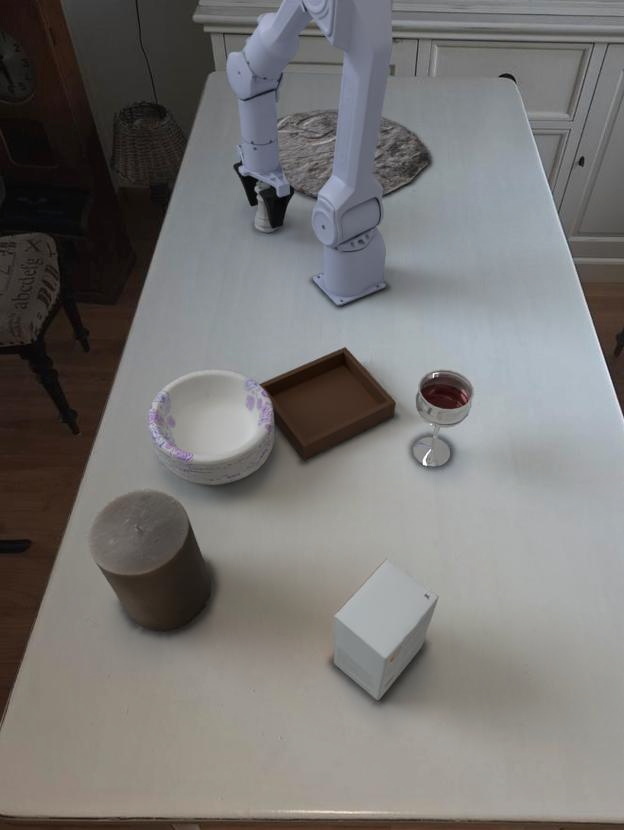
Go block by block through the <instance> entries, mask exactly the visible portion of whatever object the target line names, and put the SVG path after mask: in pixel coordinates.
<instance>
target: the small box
mask: <svg viewBox="0 0 624 830" xmlns="http://www.w3.org/2000/svg"><path fill="white" fill-rule="evenodd" d="M439 597H440V595H439V594H437V593H436V592H434V591H432V590H431V589H430V588H428V587H427V586H426V585H424V584H423V583H422V582H421V581H419V580H418V579H416V578H415V577H414V576H412V575H411V574H410V573H408V572H407V571H405V570H404V569H402V568H401V567H400V566H399V565H397V564H396V563H394V562H393V561H392V560H390V559H389V558H385V559H384V560H383V561H382V562H381V563H380V565H379V566H378V567H377V568H376V569H375V570H374V571H373V572H372V573H371V575H370V576H369V577H368V578H367V579H366V580H365V581H364V582H363V583H362V584H361V585H360V587H359V588H357V590H356V591H355V592H354V593H353V594H352V595H351V597H350V598H348V600H346V602H345V603H344V604H343V605H342V606H341V607H340V609H338V610H337V612H336V613H335V614H333V616H334V617H333V664H334V665H335V666H336V667H338V669H340V670H341V671H342V672H343V673H344V674H345V675H347V676H348V677H349V678H351V680H353V681H354V682H355V683H356V684H357V685H358V686H360V687H361V688H362V689H363V690H364V691H366V693H368V694H369V695H370V696H372V698H374V699H375V700H376V701H380V700H381V698H382V697H383V696H384V695H385V694H386V692H387V691H388V690H389V688H390V687H391V686H392V685H393V684H394V682H395V681H396V680H397V679H398V678H399V676H400V675H401V674H402V672H404V670H405V669H406V668H407V666H408V665H409V664H410V663H411V661H412V660H413V659H414V657H415V656H416V655H417V653H419V651H420V650H421V648H422V647H423V644H424V642H425V638H426V635H427V632H428V629H429V626H430V623H431V621H432V618H433V615H434V612H435V609H436V607H437V603H438V600H439Z"/></svg>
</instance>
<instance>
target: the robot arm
mask: <svg viewBox="0 0 624 830" xmlns="http://www.w3.org/2000/svg"><path fill="white" fill-rule="evenodd" d="M394 2H395V1H394V0H282V1H281V4H280V5H279V8H278V10H277V11H276V12H266V13H262V14H260V15H259V16H258V18H257V19H256V23H257V24H258V25H257V26H256V28H255V29H254V31H253V32H252V34H251V36H249V37H247V38H246V40H245V43H246V44H245V46H244V47H243V49H242V50H240V51H232V52H230V53H229V54H228V57H227V59H226V65H225V67H226V76H227V79H228V82H229V85H230V87H231V90H232V92H234V94H235V96H236V97H237V104H238V115H239V123H240V124H239V125H240V133H241V143H239V144H236V155H237V158H238V159H239V162H236V163H234V164H233V165H232V167H233V170H234V171H235V173H236V174H237V176H238V179H239V180H240V182H241V184H242V186H243V189H244V193H245V195H246V198H247V201H248V204H249V206H250V207H251V208H253V207H257V206H258V199H257V195H258V194H257V192H256V191H255V187H256V182H258V181H259V180H261V182H265V183H267V184H269V185H270V188H268V189H264V190H261V191H259V194H260V195H261V197H262V199H263V201H264V203H265V206H266V209H267V213H268V219H269V223H270V226H271V227H272V228H273V229H274V228H277V227H278V228H280V227H283V226H284V222H285V219H286V213H287V209H288V206H289V203H290V201H291V199H292V198H293V196H294V195H295V189H294V188H293V187H292V186H291V185H290V183H289V182H288V181H287V179H286V177H285V174H284V171H283V168H282V165H281V162H280V160H279V144H278V127H277V120H278V113H277V112H278V111H277V104H278V102H279V100H280V89H281V87H282V85H283V82H284V72H283V71H284V70H285V69H286V67H288V65H289V64H290V62H291V61H292V60H293V59H294V57H295V56H296V54H297V53H298V51H299V48H300V36H299V35H301V33H302V32H303V30H305V28H306V27H307V26H308V25H309V24H310V22H312V21H314V22H315V23H316V25H317V27H318V28H319V29H320V32H322V34H323V35H324V36H325V38H326V39H327V41H328V43H329V44H330V46H331V47H333V48H336V49H339V50H341V51H342V53H343V64H342V73H341V83H340V93H339V102H338V103H339V104H338V110H339V112H338V122H337V132H336V142H335V152H334V162H333V172H332V176H331V177H330V178H329V180H328V181H327V182H326V184H325V185H324V186H323V187H322V189H321V190H320V191H319V193H318V198H316V199H317V201H316V203H315V205H314V207H313V209H312V211H311V225H312V229H313V233H314V234H315V236H316V238H317V239H318V240H319V241H320V243H321V244H323V273H320V274H318V275H315V276H313V278H312V280H313V282H314V283H315V284H316V285H317V286H318V287H319V289H320V290H322V291H323V292H324V293H325V294H326V296H328V298H329V299H330V300H331V301H332V302H333V303H334V304H335V305H336V306H338V307H341V306H343V305H346V304H348V303H350V302H354V301H356V300H357V299H360V298H361V299H362V298H364V297H365V296H368V295H370V294H373V293H375V292H378V291H380V290H382V289H385V288H386V287H387V284H386V283H385V282H384V275H385V265H386V254H387V249H386V243H385V239H384V236H383V234H382V233H381V231H380V230H379V229H378V228H377V227H378V226H380V225H381V224H382V222H383V220H384V213H385V212H384V203H383V195H382V194H383V187H382V186H381V184H380V183H379V181H378V180H377V179H376V178H375V177H373V176H372V171H373V165H374V159H375V153H376V147H377V140H378V134H379V128H380V122H381V117H382V114H383V109H384V102H385V97H386V89H387V82H388V76H389V71H390V65H391V59H392V54H393V53H392V52H393V24H392V14H393V13H392V12H393V7H394V6H393V5H394ZM278 228H277V229H278Z"/></svg>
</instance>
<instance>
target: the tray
mask: <svg viewBox="0 0 624 830" xmlns="http://www.w3.org/2000/svg"><path fill="white" fill-rule="evenodd" d="M258 384H259V385H260V386H261V387H262V388H263V389H264V390H265V391H266V393H267V394H268V396H269V398H270V400H271V402H272V406H273V413H274V424H276V426H277V427H278V429H280V431H281V432H282V433H283V435H284V436H285V438H286V439H287V440H288V441H289V443H290V444H291V446H292V447H293V448H294V450H295V451H296V453H298V455H299V456H300V457H301V459H302V460H303V461H307V460H308V459H310V458H312V457H315V456H316V455H319V454H321V453H323V452H325V451H326V450H329V449H332V448H333V447H335V446H337V445H339V444H341V443H343V442H345V441H348V440H349V439H351V438H354V437H356V436H357V435H359V434H361V433H364V432H365V431H367V430H370V429H372V428H373V427H376V426H378V425H380V424H382V423H384V422H386V421H388V420H390V419H392V418H394V417H395V412H396V411H395V410H396V405H397V402H396V400H395V399H394V398H393V397H392V396H391V394H389V393H388V392H387V391H386V390H385V388H384V387H383V386H382V385H381V384H380V383H379V382H378V381H377V380H376V379H375V378H374V376H372V374H371V373H370V372H369V371H368V370H367V369H366V368H365V367H364V366H363V364H362V363H361V362H360V361H359V360H358V359H357V358H356V357H355V356H354V354H352V352H351V351H350V350H349V349H348V348H347V347H346V346H344V347H341V348H340V349H337V350H335V351H332V352H330V353H328V354H325V355H323V356H321V357H319V358H316V359H314V360H312V361H310V362H307V363H304V364H303V365H300V366H298V367H296V368H293V369H291V370H288V371H286V372H284V373H281V374H279V375H277V376H274V377H272V378H270V379H268V380H266V381H264V382H261V383H258Z"/></svg>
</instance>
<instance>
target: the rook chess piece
mask: <svg viewBox="0 0 624 830" xmlns="http://www.w3.org/2000/svg"><path fill="white" fill-rule="evenodd" d="M268 188H270V185H269V184H267V183H265V182H261V180H259V181H258V182H256V187H255V191H256V192H257V194H258V195H257V199H258V205H257V211H256V214H255V216H254V227H255V229H257V230H258V231H259V232H261V233H265V234H266V233H267V234H268V233H273V232H275V231H277V229H278V228H279V227H277V228H274V229H273V228H272V227H271V226H270V223H269V219H268V213H267V209H266V206H265V203H264V201H263V199H262V197H261V195H260V194H259V191H261V190H264V189H268Z"/></svg>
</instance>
